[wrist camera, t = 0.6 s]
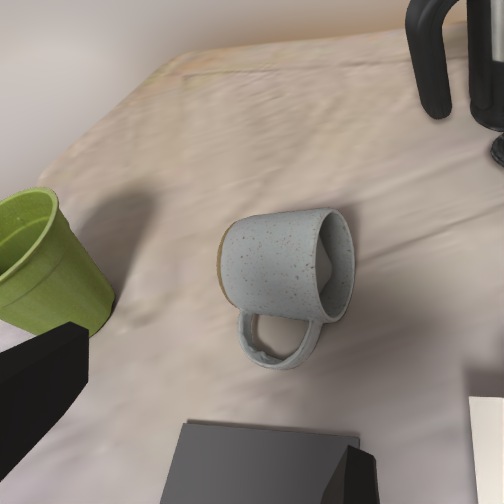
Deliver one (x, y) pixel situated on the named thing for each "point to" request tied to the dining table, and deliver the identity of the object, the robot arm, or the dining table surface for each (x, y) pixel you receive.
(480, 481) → the lid
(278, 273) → the ceramic mug
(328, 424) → the dining table surface
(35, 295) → the plant pot
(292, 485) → the mat
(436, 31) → the milk frother
